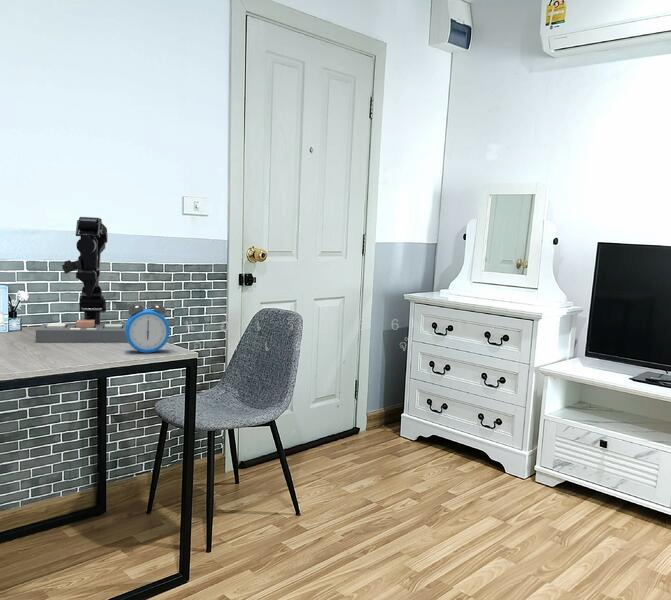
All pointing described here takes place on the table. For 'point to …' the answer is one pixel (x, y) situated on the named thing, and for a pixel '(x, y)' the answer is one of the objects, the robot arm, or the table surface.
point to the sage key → (113, 326)
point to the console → (81, 334)
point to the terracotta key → (85, 324)
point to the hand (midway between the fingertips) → (88, 297)
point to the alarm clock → (147, 328)
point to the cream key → (56, 326)
